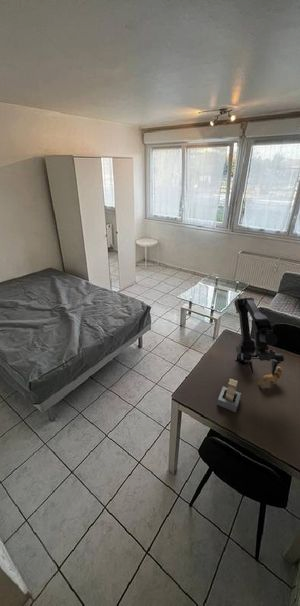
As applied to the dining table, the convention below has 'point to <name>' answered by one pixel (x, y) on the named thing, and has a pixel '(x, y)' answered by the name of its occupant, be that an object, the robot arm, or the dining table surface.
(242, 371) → the dining table surface
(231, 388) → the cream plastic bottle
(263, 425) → the dining table surface
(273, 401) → the dining table surface
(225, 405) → the end cap
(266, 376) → the lion figurine
